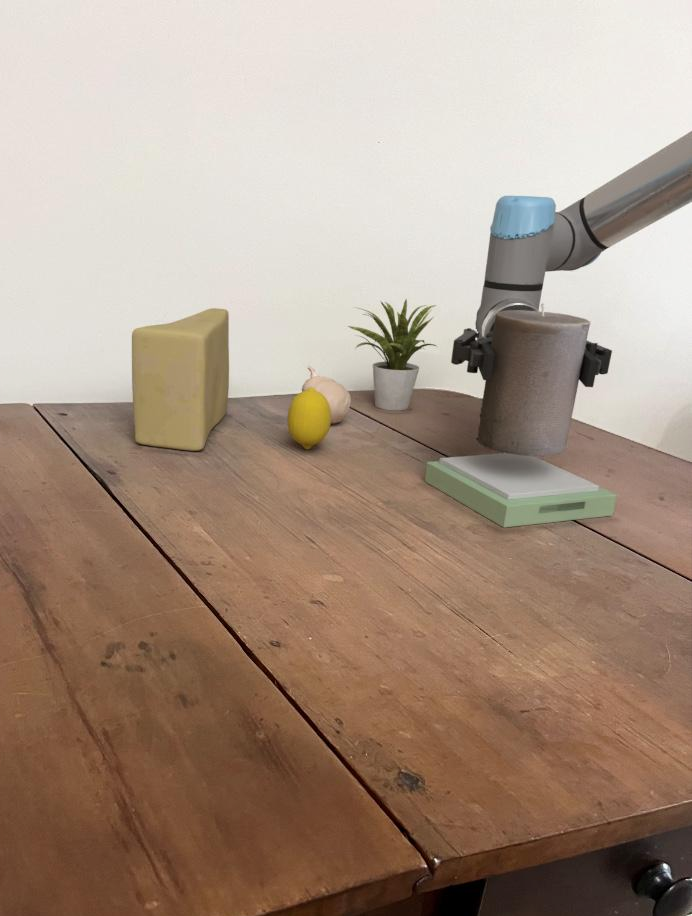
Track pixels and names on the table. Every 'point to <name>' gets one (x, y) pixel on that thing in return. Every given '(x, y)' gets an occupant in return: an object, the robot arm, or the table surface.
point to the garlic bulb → (330, 394)
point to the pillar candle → (532, 382)
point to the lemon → (309, 418)
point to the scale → (518, 489)
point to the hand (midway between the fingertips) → (540, 370)
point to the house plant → (396, 357)
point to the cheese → (180, 380)
